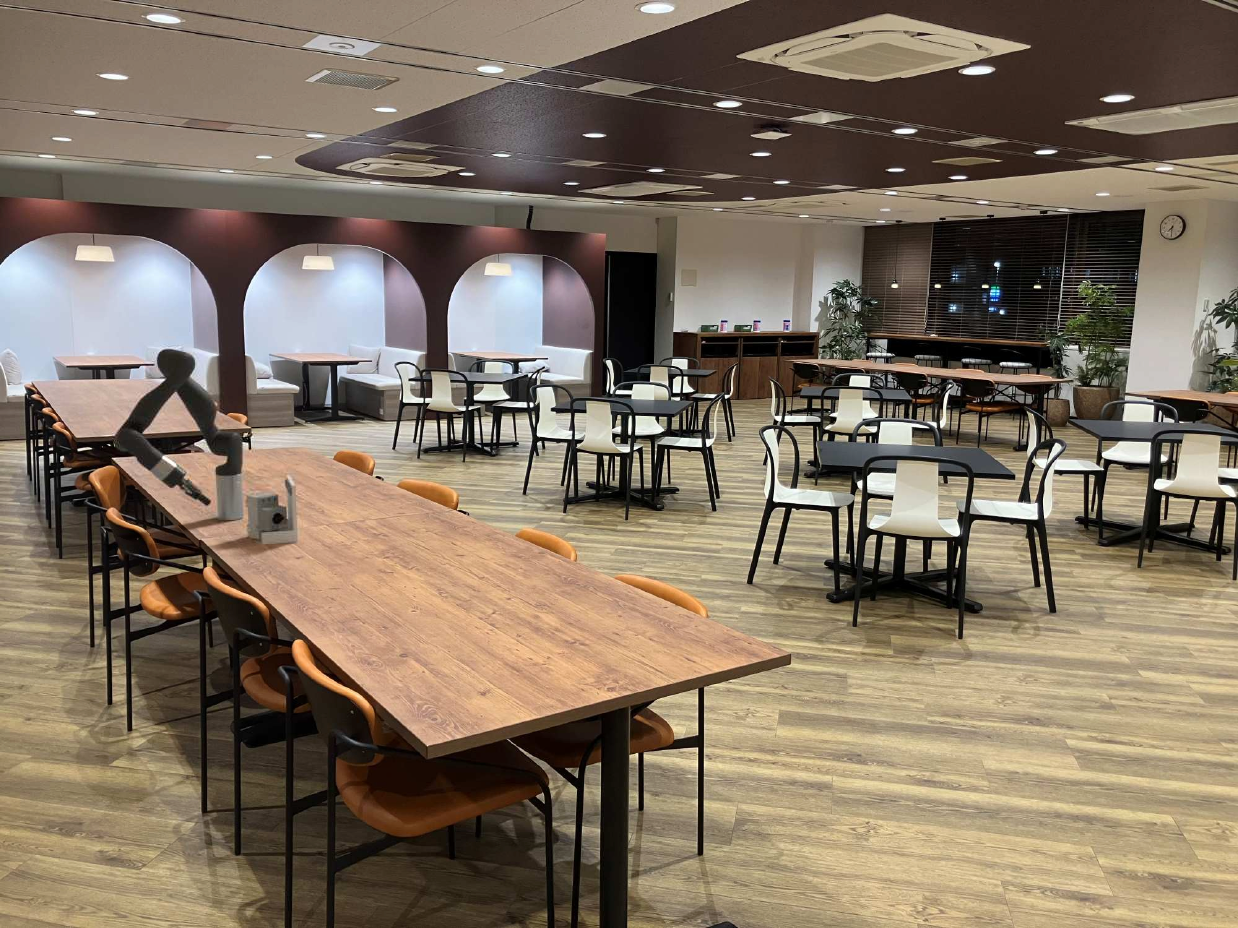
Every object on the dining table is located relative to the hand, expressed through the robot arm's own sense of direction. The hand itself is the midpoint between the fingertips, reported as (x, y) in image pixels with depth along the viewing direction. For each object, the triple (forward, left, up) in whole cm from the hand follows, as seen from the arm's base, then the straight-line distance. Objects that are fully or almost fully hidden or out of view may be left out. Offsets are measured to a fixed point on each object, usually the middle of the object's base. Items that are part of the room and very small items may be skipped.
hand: (209, 503), depth 341 cm
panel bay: (+3, +22, -13) cm, 25 cm away
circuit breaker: (+3, +19, -13) cm, 23 cm away
